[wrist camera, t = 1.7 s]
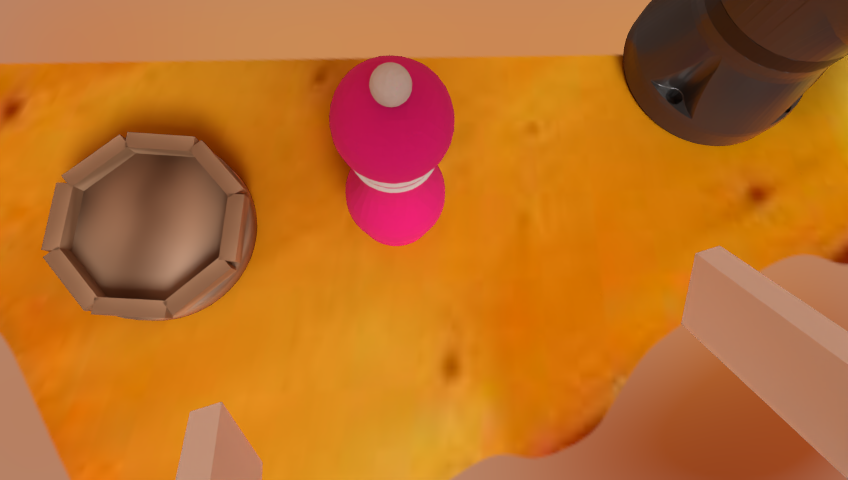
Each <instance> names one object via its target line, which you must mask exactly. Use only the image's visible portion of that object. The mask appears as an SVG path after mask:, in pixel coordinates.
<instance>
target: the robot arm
mask: <svg viewBox="0 0 848 480" xmlns="http://www.w3.org/2000/svg"><path fill="white" fill-rule="evenodd" d="M846 55H848V0H652V1H651V2H650V3H649V4H648V5H647V7H646V8H645V9H644V11H643V12H642V13H641V15H640V16H639V17H638V19H637V20H636V21H635V23H634V24H633V26H632V27H631V29H630V31H629V33H628V36H627V39H626V42H625V47H624V54H623V63H624V71H625V76H626V80H627V83H628V85H629V88H630V90H631V92H632V94H633V96H634V98H635V99H636V101H637V103H638V104H639V105H640V107H641V108H642V109H643V111H644V112H645V113H646V114H647V115H648V116H649V117H650V118H651V119H652V120H653V121H654V122H656V123H657V124H658V125H659V126H661V127H662V128H663V129H665V130H666V131H668V132H670V133H672V134H673V135H675V136H677V137H679V138H682V139H684V140H687V141H690V142H693V143H697V144H703V145H710V146H725V145H733V144H737V143H741V142H744V141H747V140H749V139H751V138H753V137H755V136H757V135H759V134H760V133H762V132H764V131H766V130H767V129H769V128H771V127H773V126H774V125H776V124H777V123H779V122H780V121H781V120H782V119H784V118H785V117H786V116H787V115H788V114H789V113H790V112H791V111H792V110H793V108H794V107H795V106H796V105H797V103H798V102H799V100H800V99H801V97H802V95H803V93H804V92H805V91H806V90H807V89H808V88H809V87H810V86H812V85H813V84H814V83H815V82H816V81H817V79H818V78H819V77H820V76H821V75H822V74H823V73H824V71H825V70H826V69H827V68H828V67H829V66H830V65H832V64H833V63H835V62H837V61H838V60H840V59H841V58H843V57H844V56H846ZM681 324H682V325H683V326H684V327H685V328H686V329H687V330H689V331H690V332H691V333H692V334H693V335H694V336H695V337H696V338H697V339H698V340H699V341H700V342H701V343H702V344H703V345H704V346H706V347H707V348H708V349H709V350H710V351H711V352H712V353H713V354H714V355H715V356H716V357H717V358H718V359H719V360H721V361H722V362H723V363H724V364H725V365H726V366H727V367H728V368H729V369H730V370H731V371H732V372H733V373H734V374H736V375H737V376H738V377H739V378H740V379H741V380H742V381H743V382H744V383H745V384H746V385H747V386H748V387H749V388H750V389H752V390H753V391H754V392H755V393H756V394H757V395H758V396H759V397H760V398H761V399H763V401H764V402H766V404H768V405H769V406H770V407H771V408H772V409H773V410H774V411H775V412H776V413H777V414H778V415H779V416H780V417H782V418H783V419H784V420H785V421H786V422H787V423H788V424H789V425H790V426H791V427H792V428H793V429H794V430H795V431H796V432H798V433H799V434H800V435H801V436H802V437H803V438H804V439H805V440H806V441H807V442H808V443H809V444H810V445H811V446H812V447H814V448H815V449H816V450H817V451H818V452H819V453H820V454H821V455H822V456H823V457H824V458H825V459H826V460H828V461H829V462H830V463H831V464H832V465H833V466H834V467H835V468H836V469H837V470H838V471H839V472H840V473H842V475H843V476H845V477H846V478H847V479H848V331H846V330H845V329H843V328H841V327H840V326H839V325H837V324H836V323H834V322H833V321H831V320H830V319H828V318H827V317H825V316H824V315H822V314H821V313H819V312H818V311H816V310H815V309H813V308H812V307H810V306H809V305H807V304H806V303H804V302H803V301H802V300H800V299H798V298H797V297H796V296H794V295H792V294H791V293H790V292H788V291H787V290H785V289H784V288H782V287H781V286H779V285H778V284H776V283H775V282H773V281H772V280H770V279H769V278H767V277H766V276H764V275H763V274H761V273H760V272H758V271H757V270H755V269H754V268H752V267H751V266H749V265H748V264H746V263H745V262H743V261H742V260H740V259H739V258H737V257H736V256H734V255H733V254H731V253H730V252H729V251H727V250H726V249H724V248H723V247H721V246H717V247H714V248H711V249H708V250H705V251H701V252H698V253H696V254H695V259H694V264H693V269H692V274H691V279H690V283H689V288H688V293H687V298H686V303H685V308H684V313H683V318H682V323H681ZM176 480H262V461H261V460H260V458H259V457H258V455H257V454H256V452H255V451H254V449H253V448H252V446H251V445H250V443H249V442H248V440H247V439H246V437H245V436H244V434H243V433H242V431H241V430H240V428H239V427H238V425H237V424H236V423H235V421H234V420H233V418H232V417H231V415H230V414H229V412H228V411H227V409H226V408H225V406H224V405H223V403H222V402H220V403H216V404H213V405H210V406H207V407H204V408H200V409H197V410H194V411H191V412H190V414H189V419H188V424H187V429H186V433H185V438H184V443H183V447H182V452H181V457H180V462H179V466H178V471H177V476H176Z"/></svg>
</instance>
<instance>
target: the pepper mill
mask: <svg viewBox="0 0 848 480" xmlns="http://www.w3.org/2000/svg"><path fill="white" fill-rule="evenodd" d="M329 122H330V130H331V134H332V138H333V142H334V145H335V147H336V149H337V150H338V152H339V154H340V156H341V157H342V158H343V159H344V161H345V162H346V163H347V164H348V166H350V167H351V170H350V172H349V175H348V178H347V182H346V201H347V206H348V209H349V212H350V214H351V216H352V218H353V220H354V221H355V223H356V224H357V225H358V226H359V227H360V228H361V229H362V230H363V231H364V232H366V233H367V234H368V235H369V236H370V237H372V238H373V239H375V240H376V241H378V242H380V243H382V244H386V245H391V246H401V245H407V244H410V243H413V242H414V241H416V240H418V239H419V238H420V237H422V236H423V235H424V234H425V233H426V232H427V231H428V230H429V229H430V228H431V227H432V226H433V225H434V224H435V223H436V221H437V220H438V218H439V216H440V214H441V212H442V210H443V206H444V199H445V185H444V179H443V176H442V173H441V171H440V169H439V167H438V164H439V162H440V161H441V160H442V158H443V157H444V155H445V153H446V152H447V150H448V148H449V146H450V144H451V140H452V136H453V132H454V110H453V106H452V102H451V98H450V96H449V93H448V91H447V89H446V87H445V85H444V84H443V83H442V81H441V80H440V79H439V77H438V76H437V75H436V74H435V73H434V72H433V71H432V70H431V69H429V68H428V67H427V66H425V65H424V64H422V63H420V62H417V61H415V60H413V59H409V58H405V57H402V56H379V57H375V58H372V59H368V60H366V61H364V62H362V63H360V64H358V65H357V66H355V67H354V68H353V69H352V70H350V71H349V72H348V73H347V74H346V75H345V77H344V78H343V79H342V80H341V82H340V84H339V85H338V87H337V89H336V90H335V93H334V96H333V99H332V102H331V106H330V115H329Z"/></svg>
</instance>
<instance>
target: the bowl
mask: <svg viewBox="0 0 848 480" xmlns="http://www.w3.org/2000/svg"><path fill="white" fill-rule="evenodd" d="M62 177H63V178H64V180H65V181H66V182H67V183H56V187H55V192H54V196H53V200H52V205H51V209H50V214H49V218H48V222H47V227H46V231H45V236H44V240H43V244H42V249H41V250H45V251H49V253H48V254H47V255H45V256H44V257H43V258H44V259H45V261H46V262H47V263H48V264H49V266H50V267H51V268H52V270H53V271H54V272H55V274H56V275H57V276H58V277H59V279H60V280H61V281H62V283H63V284H64V285H65V287H66V288H67V289H68V290H69V292H70V293H71V294H72V296H73V297H74V298H75V300H76V301H77V302H78V303H79V305H80V306H81V307H82V309H83V310H85V311H92V312H91V314H96V315H113V316H118V317H122V318H128V319H136V320H170V319H177V318H181V317H185V316H188V315H191V314H193V313H196V312H198V311H201V310H202V309H204V308H206V307H208V306H210V305H211V304H213V303H214V302H216V301H217V300H218V299H220V298H221V297H222V296H223V295H225V294H226V293H227V292H228V291H229V290H230V289H231V288H232V287H233V285H234V284H235V283H236V282H237V281H238V280H239V278H240V277H241V275H242V274H243V272H244V270H245V269H246V267H247V265H248V263H249V261H250V259H251V256H252V253H253V250H254V246H255V241H256V235H257V217H256V211H255V206H254V203H253V200H252V197H251V195H250V193H249V191H248V189H247V187H246V185H245V184H244V182H243V181H242V180H241V178H240V177H239V176H238V175H237V174H236V173H235V172H234V171H233V170H232V169H231V168H230V167H229V166H228V165H227V164H226V163H225V162H224V161H223V160H222V159H221V158H219V157H218V156H217V155H215V154H214V153H213V151H212V150H211V149H210V148H209V147H208V146H207V145H206V144H205V143H204V142H203V141H202V140H201V141H199V140H198V139H197V138H196V137H194V136H179V135H165V134H150V133H135V132H127V137H126V138H124V137H123V136H121V135H120V134H119V135H118V136H116V137H115V138H114V139H112V140H111V141H109V142H108V143H107V144H105V145H104V146H102V147H101V148H100V149H98V150H97V151H95V152H94V153H93V154H91V155H90V156H88V157H87V158H86V159H84V160H83V161H81V162H80V163H79V164H77V165H76V166H74V167H73V168H72V169H70V170H69V171H67V172H66V173H65V174H63V175H62Z"/></svg>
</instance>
